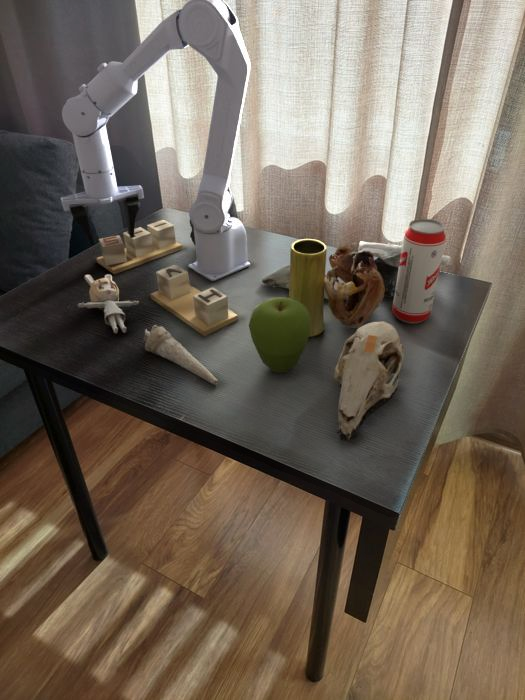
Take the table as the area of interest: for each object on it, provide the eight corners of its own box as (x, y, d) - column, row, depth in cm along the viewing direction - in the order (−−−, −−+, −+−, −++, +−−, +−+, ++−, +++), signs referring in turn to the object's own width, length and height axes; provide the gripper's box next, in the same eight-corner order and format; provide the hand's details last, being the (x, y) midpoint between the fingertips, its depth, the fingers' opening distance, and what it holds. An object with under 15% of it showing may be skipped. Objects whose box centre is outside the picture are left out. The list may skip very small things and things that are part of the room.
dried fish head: (396, 329, 77) (372, 266, 74) (341, 348, 80) (315, 287, 77) (393, 285, 96) (373, 233, 92) (348, 301, 99) (327, 251, 95)
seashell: (153, 318, 82) (225, 333, 73) (158, 359, 85) (229, 378, 76) (132, 326, 79) (204, 343, 70) (138, 368, 82) (209, 389, 73)
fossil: (328, 298, 86) (262, 261, 93) (322, 321, 89) (258, 283, 96) (365, 280, 93) (301, 247, 101) (358, 302, 96) (296, 268, 103)
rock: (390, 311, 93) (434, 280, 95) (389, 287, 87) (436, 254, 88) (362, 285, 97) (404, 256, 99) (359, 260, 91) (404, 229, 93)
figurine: (358, 249, 99) (456, 263, 96) (361, 229, 99) (460, 243, 96) (356, 262, 106) (448, 275, 102) (360, 243, 106) (451, 256, 103)
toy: (89, 322, 80) (68, 264, 89) (85, 347, 83) (66, 289, 92) (153, 318, 85) (127, 264, 94) (148, 342, 89) (123, 287, 97)
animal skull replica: (309, 433, 66) (313, 372, 60) (352, 358, 78) (358, 301, 72) (372, 454, 63) (382, 392, 57) (406, 373, 75) (418, 315, 69)
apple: (297, 345, 82) (299, 280, 75) (318, 378, 75) (322, 310, 68) (243, 356, 79) (240, 291, 73) (261, 391, 73) (259, 323, 66)
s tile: (102, 257, 104) (98, 238, 102) (122, 253, 106) (119, 234, 103) (106, 265, 102) (102, 246, 99) (126, 261, 103) (123, 242, 100)
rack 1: (164, 238, 114) (161, 216, 110) (182, 249, 109) (180, 226, 106) (97, 262, 105) (91, 238, 102) (114, 274, 101) (109, 250, 98)
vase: (304, 312, 89) (306, 234, 80) (332, 326, 85) (338, 246, 77) (279, 327, 85) (279, 246, 77) (307, 342, 82) (310, 260, 73)
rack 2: (151, 298, 94) (146, 273, 91) (183, 285, 97) (180, 260, 94) (204, 336, 84) (201, 309, 81) (238, 319, 88) (236, 293, 85)
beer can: (432, 310, 89) (451, 221, 79) (425, 329, 84) (444, 237, 75) (396, 302, 91) (410, 214, 82) (387, 320, 87) (401, 230, 77)
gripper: (57, 181, 88) (76, 255, 96) (142, 169, 92) (153, 240, 100) (52, 169, 93) (71, 240, 101) (133, 158, 97) (145, 226, 106)
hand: (111, 239), depth 101 cm, fingers open, 7 cm apart
